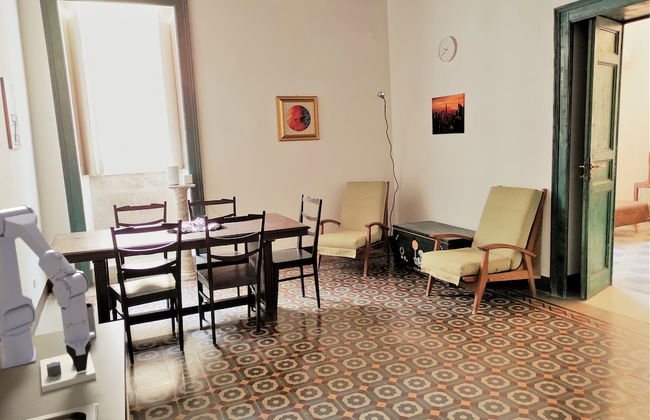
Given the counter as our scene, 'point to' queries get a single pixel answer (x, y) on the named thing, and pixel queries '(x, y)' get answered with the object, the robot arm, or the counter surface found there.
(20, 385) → the counter surface
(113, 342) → the counter surface
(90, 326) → the planter
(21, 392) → the counter surface
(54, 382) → the panel
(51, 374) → the block
